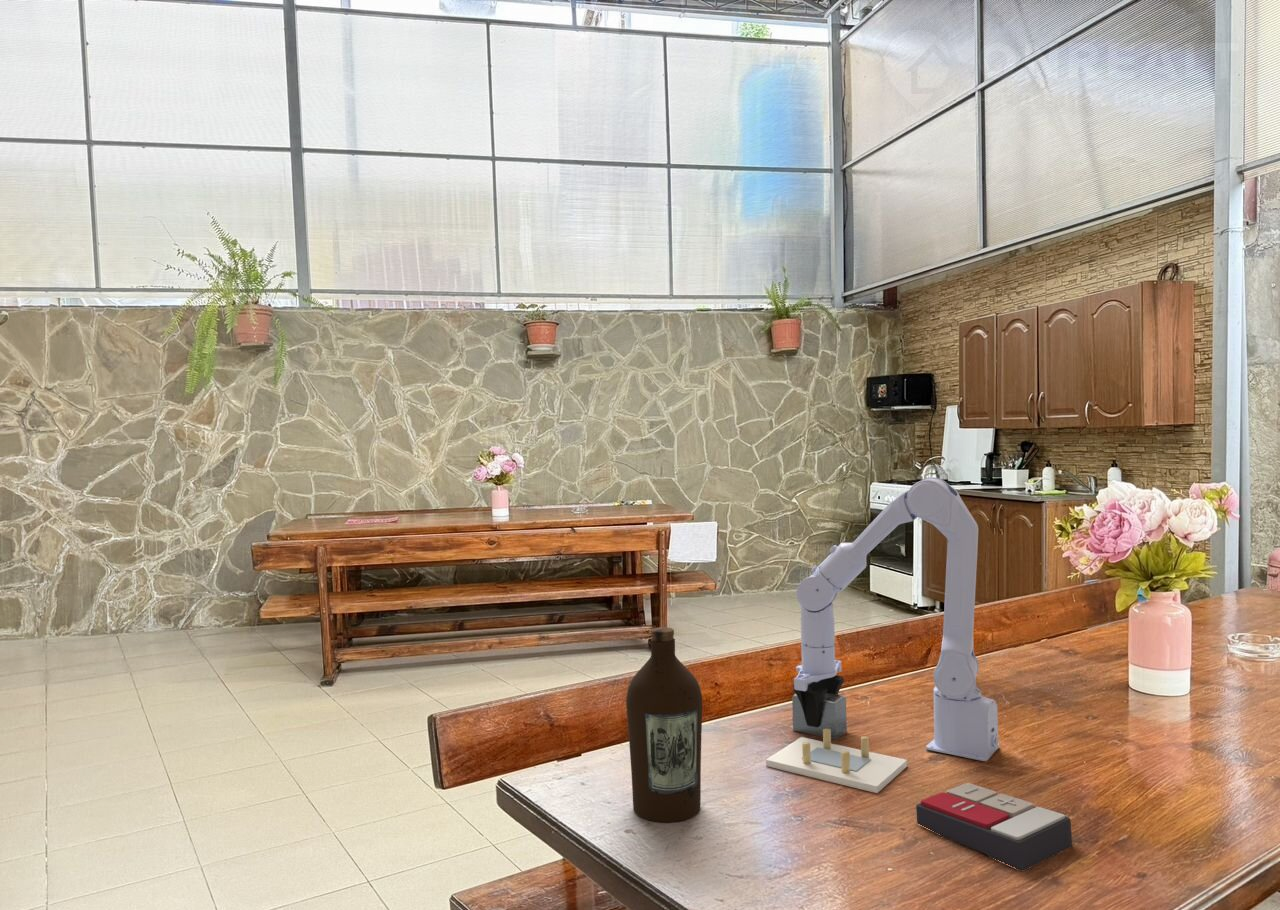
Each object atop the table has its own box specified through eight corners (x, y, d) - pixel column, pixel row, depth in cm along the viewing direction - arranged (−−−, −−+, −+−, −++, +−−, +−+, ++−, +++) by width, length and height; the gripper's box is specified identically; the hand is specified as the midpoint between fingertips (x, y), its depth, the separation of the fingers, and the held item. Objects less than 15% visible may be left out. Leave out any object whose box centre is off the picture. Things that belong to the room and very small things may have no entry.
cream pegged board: (907, 766, 130) (906, 740, 129) (877, 793, 120) (876, 765, 120) (801, 742, 141) (800, 719, 140) (766, 765, 131) (765, 740, 131)
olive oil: (621, 797, 121) (617, 624, 121) (692, 788, 123) (688, 619, 123) (638, 829, 111) (633, 641, 110) (715, 819, 113) (710, 635, 113)
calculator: (966, 778, 116) (1071, 811, 104) (968, 810, 116) (1074, 846, 104) (913, 798, 110) (1019, 836, 98) (915, 831, 110) (1021, 873, 98)
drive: (846, 731, 145) (846, 695, 145) (835, 739, 142) (834, 702, 142) (804, 723, 150) (804, 688, 150) (793, 730, 147) (792, 694, 147)
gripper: (815, 633, 154) (816, 706, 154) (777, 649, 143) (779, 729, 143) (851, 637, 150) (853, 713, 150) (815, 655, 138) (817, 737, 138)
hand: (819, 721), depth 146 cm, fingers closed on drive, 4 cm apart
